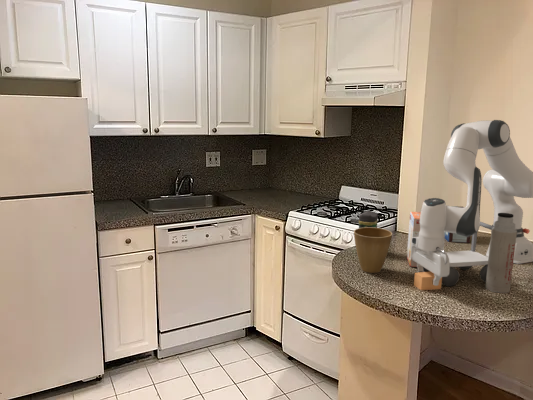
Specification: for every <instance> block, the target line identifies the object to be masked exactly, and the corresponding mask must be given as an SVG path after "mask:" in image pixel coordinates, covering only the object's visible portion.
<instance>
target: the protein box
mask: <svg viewBox="0 0 533 400" xmlns="http://www.w3.org/2000/svg"><path fill="white" fill-rule="evenodd" d="M452 206H453V205H452ZM453 207H460V208H464V207H465V206H461V205H460V206H458V205H457V206H453ZM444 234H445V239H444V240H446V242H448V243H464V244H470V243H471V236H469V237H465V236H462V235H458V234H455V233H449V232H444Z"/></svg>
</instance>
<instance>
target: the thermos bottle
mask: <svg viewBox="0 0 533 400" xmlns="http://www.w3.org/2000/svg"><path fill="white" fill-rule="evenodd" d="M490 232H491V233H490V242H489V245H490V249H489V259H488V268H487V277H486V282H485V288H486V290H488V291H490V292H494V293H498V294H499V293H500V294H507V293H510V291H511V285H512V284H511V283H512V275H513V268H514V267H513V266H514V263H513V260H514V252H515V243H516V235H517V230H515V224H514V223H513V214H509V213H498V220H497V221H496V222H495V223H494V227H492V231H491V230H490Z"/></svg>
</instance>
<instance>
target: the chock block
mask: <svg viewBox="0 0 533 400" xmlns="http://www.w3.org/2000/svg"><path fill="white" fill-rule="evenodd" d="M434 278H435V276H434V273H432V272H418V271H417V272H414V280H413V286H414V287H416V288H417V289H418V290H420V291H429V290H441V289H442V285H443V283H442V277H441V279H440V280H439V285H437V286H435V285H433V284H432V280H433V279H434Z"/></svg>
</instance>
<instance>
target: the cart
mask: <svg viewBox="0 0 533 400" xmlns="http://www.w3.org/2000/svg"><path fill="white" fill-rule="evenodd" d="M492 225H493V224H492ZM492 225H491V224H489V223H485V222H484V221H480V227H482V228H484V229H488V230H490V231H491V230H492V227H494V226H492ZM477 238H478V232H476V233H475V234H473V235H471V245H470V246H471V247H470V250H455V251H454V250H453V251H452V250H451V251H446V253H447V255H448V257H449V263H450V271H449V275H448V276H447V277H442V285H444V286H446V287H453V286H455V285H456V284H457V283H458V282H459V280H460V272H459V271H458V270H457V269H456V268H457V267H458V269H460V270H463V271H468V270H471V269H472V267H474V266H482V268H481V269H480V272H479V278H480V280H481V281H482V282H484V283H486V277H487V268H488V259H489V257H488V256H486V254H485V255H484V254H482V253H480V252H478V251H476V248H477V247H476V246H477V241H478V239H477ZM423 270H424V272H431V271H429V270H427V269H426V268H424V267H423Z"/></svg>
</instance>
